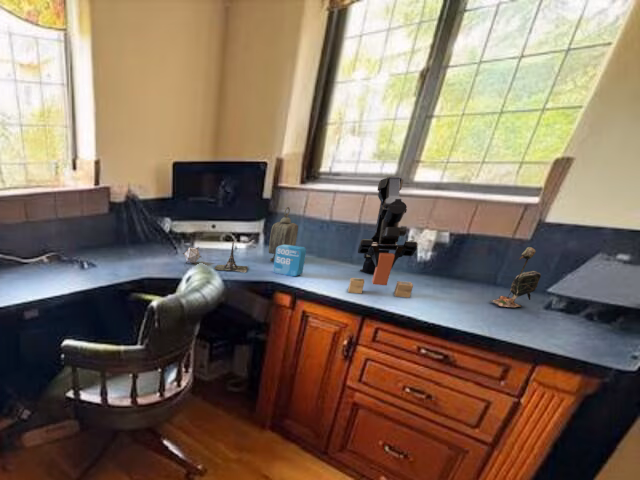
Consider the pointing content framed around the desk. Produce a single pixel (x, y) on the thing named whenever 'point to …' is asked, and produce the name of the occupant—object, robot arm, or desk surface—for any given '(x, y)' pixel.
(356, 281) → the maple cube
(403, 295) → the maple cube
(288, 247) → the data package
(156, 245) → the desk surface
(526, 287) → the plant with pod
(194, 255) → the game die
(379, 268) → the orange rectangular block
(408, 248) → the robot arm
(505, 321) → the desk surface
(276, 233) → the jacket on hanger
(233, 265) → the eiffel tower figurine
